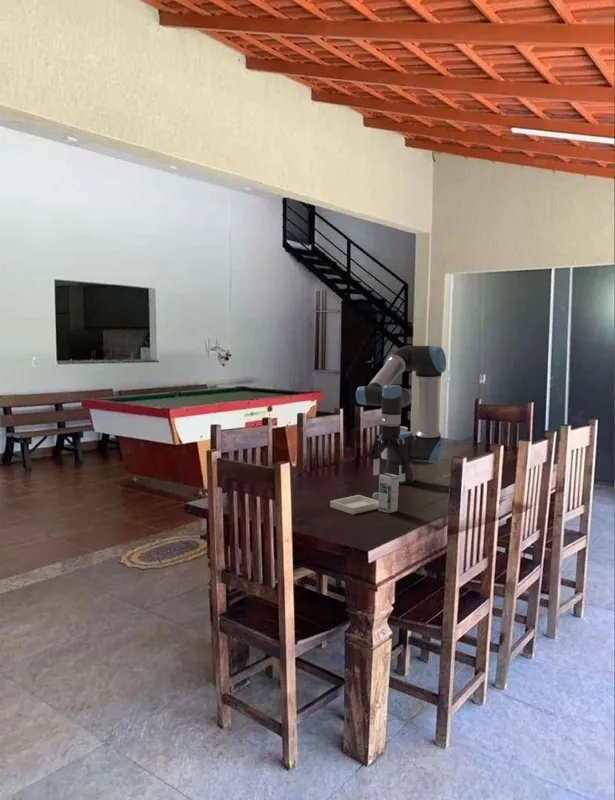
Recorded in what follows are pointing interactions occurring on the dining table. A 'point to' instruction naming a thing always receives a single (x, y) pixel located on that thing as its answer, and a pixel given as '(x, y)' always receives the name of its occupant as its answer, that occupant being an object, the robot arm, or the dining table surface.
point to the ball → (375, 496)
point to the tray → (355, 504)
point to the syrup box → (388, 493)
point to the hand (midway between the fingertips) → (388, 478)
